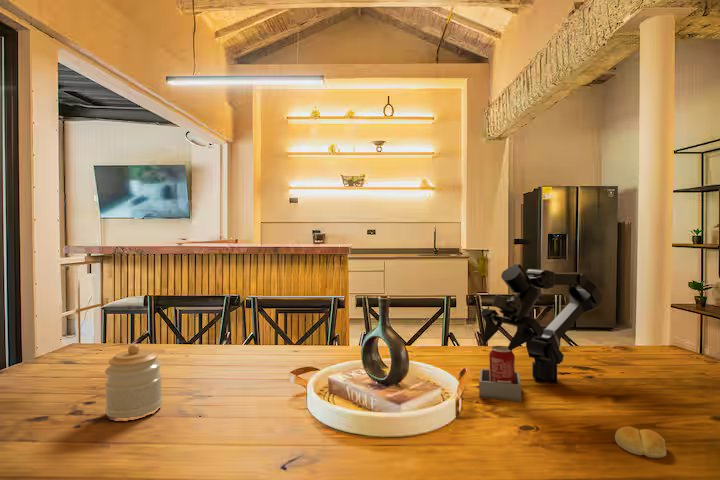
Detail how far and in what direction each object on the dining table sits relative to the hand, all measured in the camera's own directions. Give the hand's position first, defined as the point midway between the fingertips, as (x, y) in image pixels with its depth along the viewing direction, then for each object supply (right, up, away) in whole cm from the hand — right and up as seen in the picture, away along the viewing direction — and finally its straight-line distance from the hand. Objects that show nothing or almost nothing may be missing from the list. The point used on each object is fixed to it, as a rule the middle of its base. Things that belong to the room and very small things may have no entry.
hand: (495, 345), depth 116 cm
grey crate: (+1, -14, +1) cm, 14 cm away
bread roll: (+21, -14, -30) cm, 39 cm away
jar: (-97, -15, -9) cm, 99 cm away
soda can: (+2, -13, 0) cm, 13 cm away
